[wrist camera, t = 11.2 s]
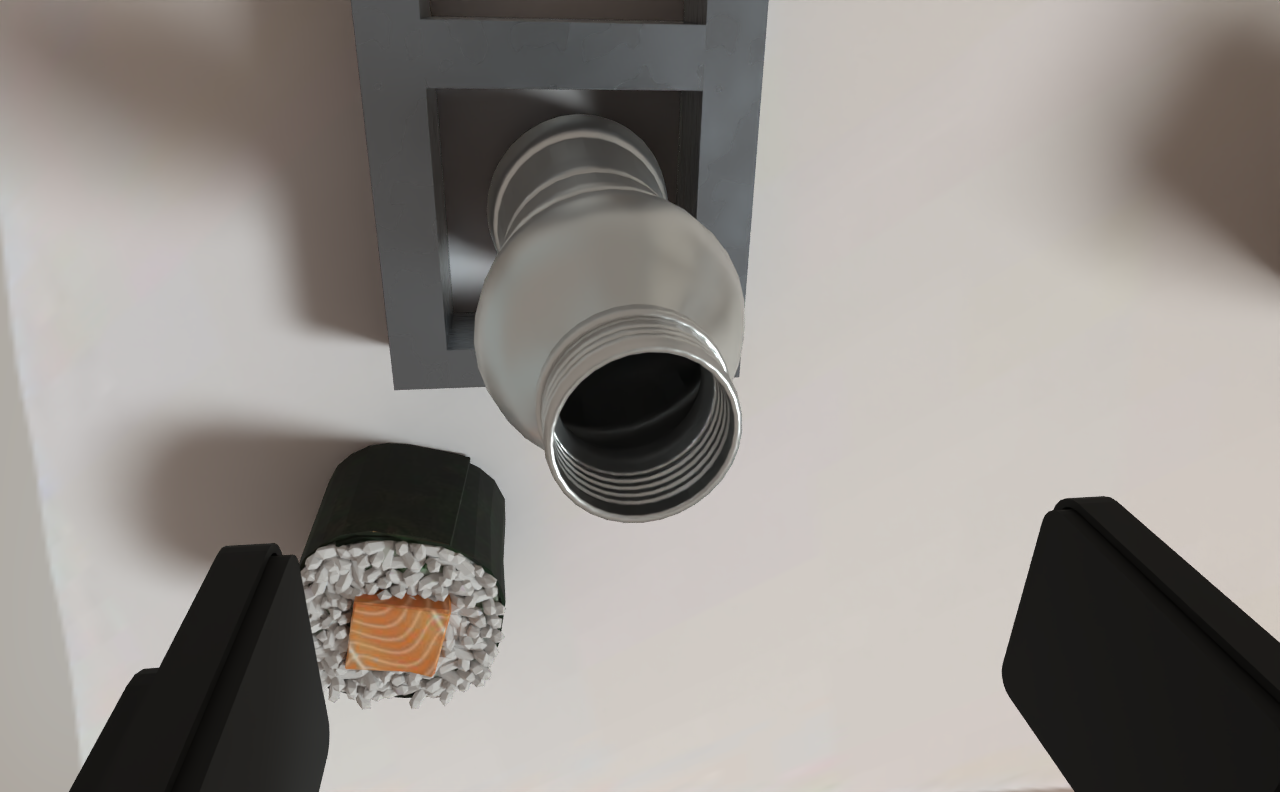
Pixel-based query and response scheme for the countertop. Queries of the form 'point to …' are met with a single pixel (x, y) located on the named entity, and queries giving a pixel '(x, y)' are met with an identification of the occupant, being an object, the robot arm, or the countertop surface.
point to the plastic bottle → (609, 322)
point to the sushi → (406, 575)
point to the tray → (539, 59)
